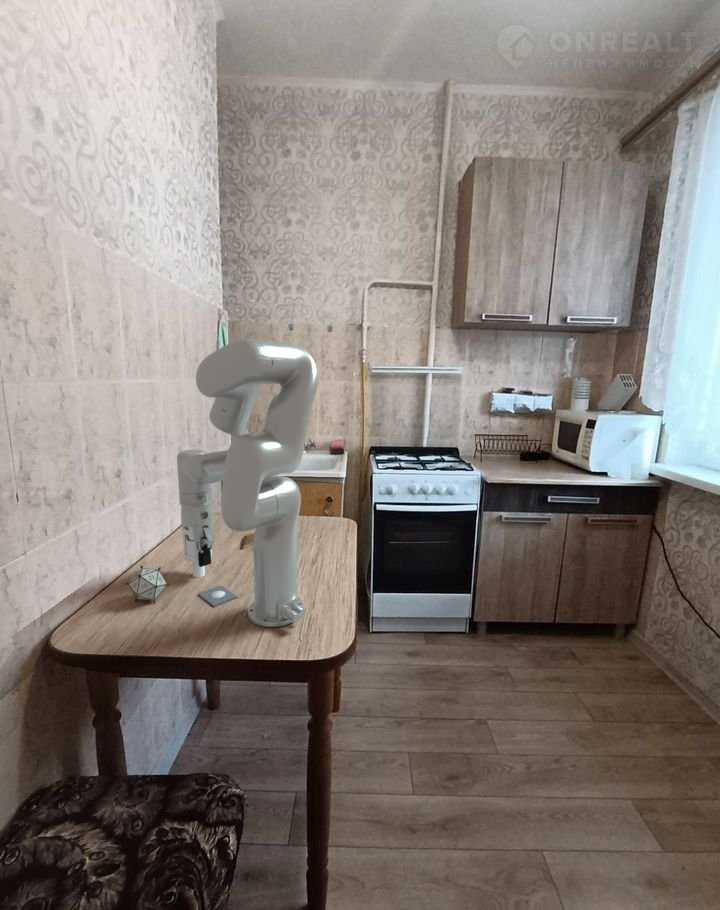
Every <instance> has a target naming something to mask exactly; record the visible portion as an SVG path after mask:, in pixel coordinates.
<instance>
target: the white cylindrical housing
mask: <svg viewBox="0 0 720 910" xmlns="http://www.w3.org/2000/svg"><path fill="white" fill-rule="evenodd" d="M181 532H182V539H183V540H182V541H183V542H182V543H183V560H185V561H187V562H191V563H192V564H191V565H192V577H193V578H195V579H196V578H197V579H198V578H203V577H204V576H206V569H205V567H206V566H203V567H200V566H199V561H198V552H200V551H199V547H198V543H197V542H195V541H193V540H194V536H193V530H192V527H191V526H190V527H189V530H186V529H185V527H184V526H183V527H182V526H181ZM186 535H189V537H190V538H188V537H187V536H186ZM204 539H205V537H203V538H200V540H204ZM204 544H206V542H202V547H203V545H204ZM212 555H213V550H212V549H211V557H212Z"/></svg>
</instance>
